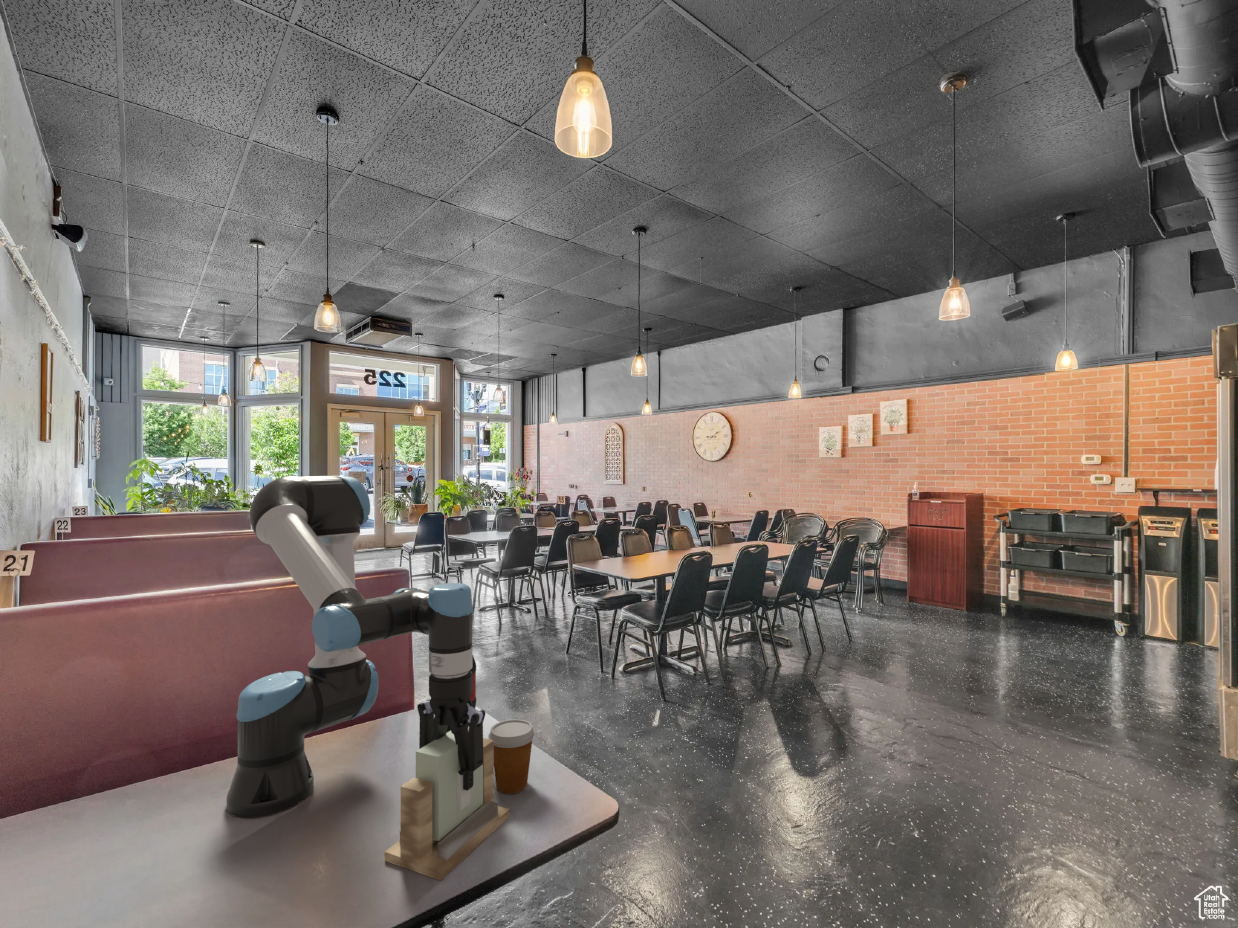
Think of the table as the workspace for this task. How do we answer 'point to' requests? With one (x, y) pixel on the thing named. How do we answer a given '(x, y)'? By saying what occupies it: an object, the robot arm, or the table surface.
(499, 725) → the disposable coffee cup
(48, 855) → the table surface
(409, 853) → the sill
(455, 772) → the door panel
